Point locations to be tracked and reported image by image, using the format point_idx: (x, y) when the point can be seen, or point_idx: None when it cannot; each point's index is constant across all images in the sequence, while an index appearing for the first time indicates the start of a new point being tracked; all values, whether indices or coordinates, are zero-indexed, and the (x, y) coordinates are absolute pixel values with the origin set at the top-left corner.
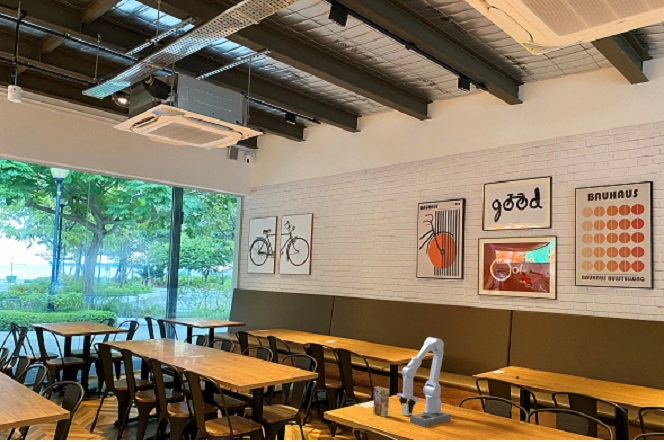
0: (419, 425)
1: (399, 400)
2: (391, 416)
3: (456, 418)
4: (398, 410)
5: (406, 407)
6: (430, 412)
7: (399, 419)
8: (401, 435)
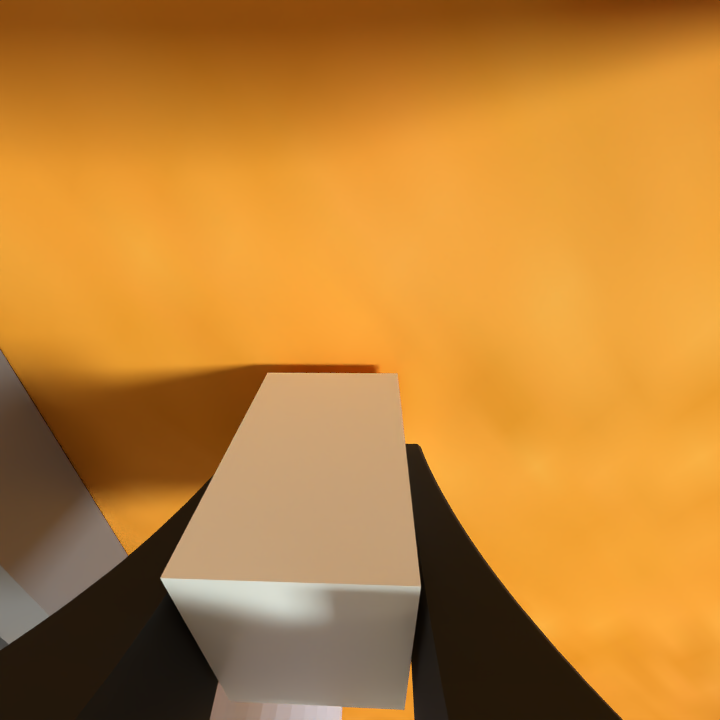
0: None
1: (613, 718)
2: (479, 68)
3: None
4: (590, 508)
5: (230, 494)
6: (10, 605)
7: (157, 22)
8: None
